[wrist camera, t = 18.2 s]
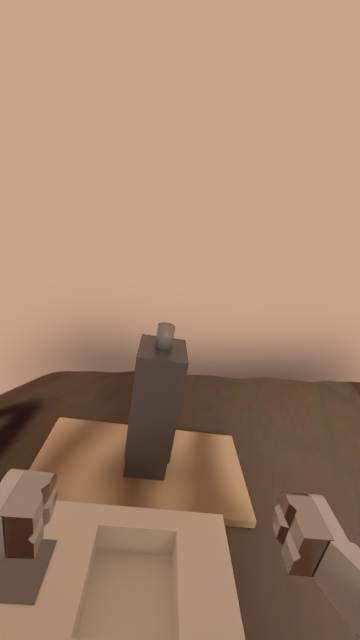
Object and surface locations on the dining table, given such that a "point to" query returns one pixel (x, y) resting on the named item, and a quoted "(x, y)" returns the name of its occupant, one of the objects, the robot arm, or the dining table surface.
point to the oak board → (171, 494)
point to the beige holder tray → (123, 578)
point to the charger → (155, 403)
